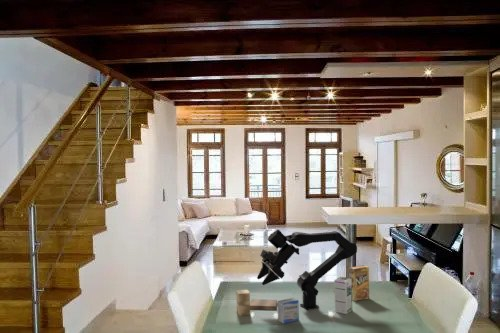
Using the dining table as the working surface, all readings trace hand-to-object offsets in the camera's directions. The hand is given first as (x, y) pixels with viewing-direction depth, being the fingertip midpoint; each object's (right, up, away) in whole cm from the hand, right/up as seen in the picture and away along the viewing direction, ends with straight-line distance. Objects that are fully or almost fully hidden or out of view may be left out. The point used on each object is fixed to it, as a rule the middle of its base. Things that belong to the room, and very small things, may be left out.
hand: (260, 281), depth 195 cm
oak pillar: (-7, -14, -1) cm, 15 cm away
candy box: (+48, -12, +15) cm, 52 cm away
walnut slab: (+2, -14, +7) cm, 16 cm away
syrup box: (+37, -13, -1) cm, 39 cm away
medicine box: (+12, -14, -11) cm, 21 cm away
